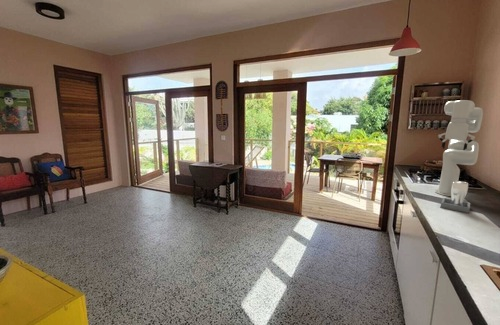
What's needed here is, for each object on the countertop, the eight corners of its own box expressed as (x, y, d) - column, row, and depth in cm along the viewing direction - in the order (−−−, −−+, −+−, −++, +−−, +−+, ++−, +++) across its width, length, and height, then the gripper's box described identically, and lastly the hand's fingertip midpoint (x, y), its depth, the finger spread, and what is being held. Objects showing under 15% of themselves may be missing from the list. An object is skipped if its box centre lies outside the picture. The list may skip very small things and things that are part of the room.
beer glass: (458, 209, 135) (463, 184, 132) (445, 205, 142) (449, 180, 139) (466, 208, 137) (471, 183, 134) (453, 204, 144) (458, 180, 141)
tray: (442, 202, 149) (443, 197, 148) (469, 207, 140) (470, 202, 140) (440, 207, 139) (441, 202, 139) (468, 213, 131) (469, 208, 130)
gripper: (478, 121, 139) (472, 150, 143) (441, 121, 151) (436, 147, 154) (478, 121, 134) (472, 151, 137) (440, 120, 146) (435, 148, 149)
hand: (453, 149), depth 146 cm, fingers open, 9 cm apart
